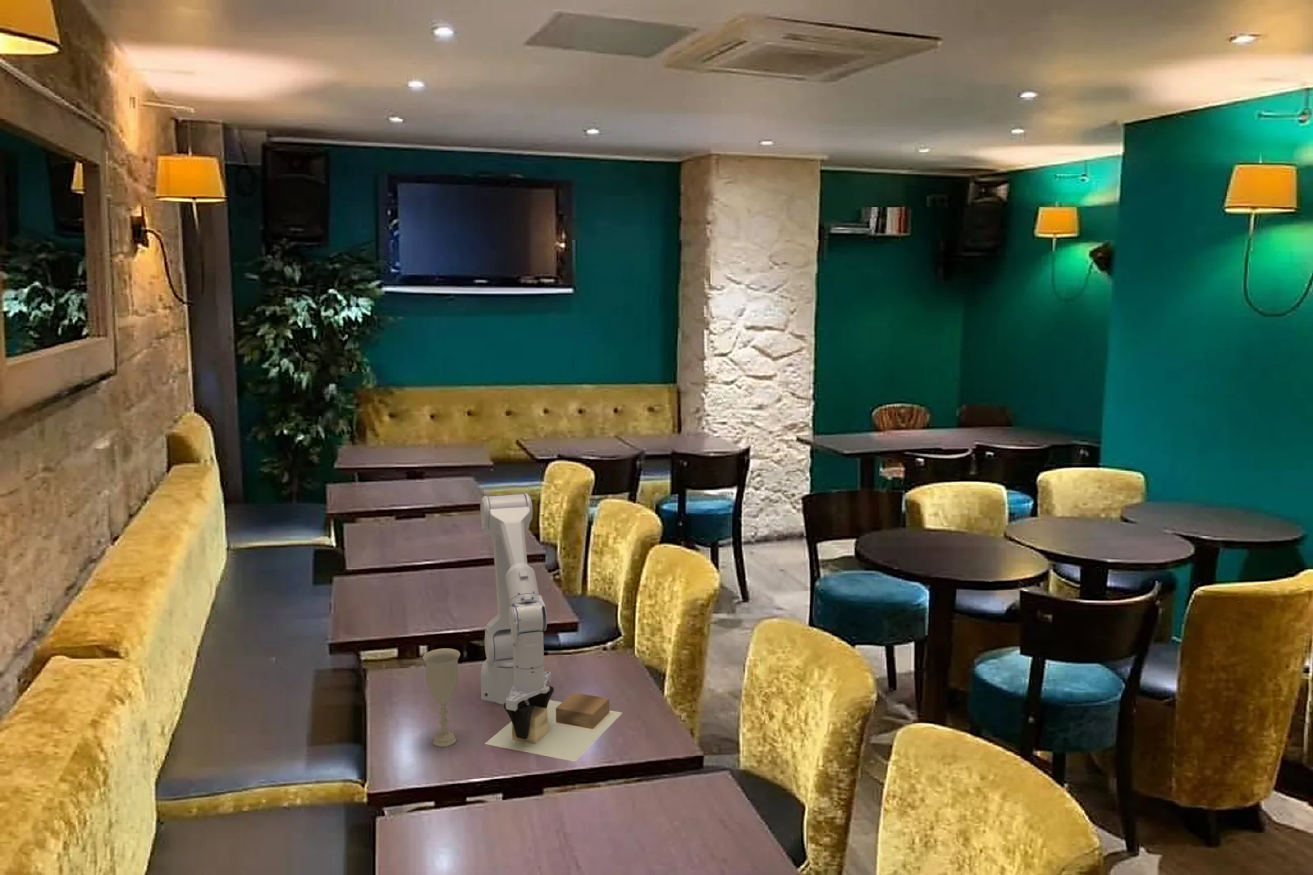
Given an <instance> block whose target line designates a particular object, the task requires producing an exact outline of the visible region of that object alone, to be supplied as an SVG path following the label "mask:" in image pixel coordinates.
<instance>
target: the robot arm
mask: <svg viewBox="0 0 1313 875" xmlns="http://www.w3.org/2000/svg"><path fill="white" fill-rule="evenodd" d="M479 508H480V521H481V522H480V523H481V524H480V525H481V530H482V534H483V535H485V536H488V537H490V538H491V541H492V544H493V561H494V562H493V563H494V574H495V575H494V576H495V594H496V609H497V613H496V615H495V616H494V617H493V618H492V619H491V620H489V621H488V622H487V623H486V625H485V628H484V633H485V634H484V651H485V657H486V659H485V660H484V662H483V663H482V666H481V669H480V698H481V700H482V701H486V702H487V701H488V702H493V703H496V704H498V705H502V706H503V708H504V710H505V712H506V713H507V715H508V717H509V718H510V720H511V721H512V723H513V726H514V730H515V733H516V737H517V738H522V739H527V738H528V734H529V725H530V718H531V714H532V711H533V709H534V707H535V706H537V707H542V708H547V705H548V702H549V700H551V698H552V696H553V694H554V692H555V691H554V690H555V687H553V686H551V685H547V684H549V683H551V682H552V672H551V671H546V670H545V663H544V662H545V660H544V658H545V657H544V656H545V655H544V653H545V650H544V632H545V631H546V630H547V628H548V627H547V625H548V615H547V609H546V605H545V601H544V600H543V597H542V595H540V594H539V593H540V592H539V588H538V582H537V576H536V571H535V569H534V568H533V567H531V566H530V565H529V564H528V558H527V557H528V555H527V546H526V543H527V542H526V534H525V532H526V531H527V530H528V529H529V528H530V523H531V521H532V520H533V512H534V510H533V502H532V498H531V496H530V495H529V494H528V493H527V492H524V493H520V494H505V495H492V496H490V495H488V496H487V495H484V496H482V498H481V499H480V507H479ZM526 701H527V702H528V703H527V702H526ZM511 721H510V722H511Z"/></svg>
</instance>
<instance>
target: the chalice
mask: <svg viewBox="0 0 1313 875" xmlns="http://www.w3.org/2000/svg"><path fill="white" fill-rule="evenodd" d="M460 656H461V653H460V651H459V650H457V649H454V648H447V647H446V648H437V649H432V650H430V651H428V652H426V653H424V655H422V660H423V662H424V663H425V675H426V677H425V679H426V685H427V688H428V689H429V693H430V694H431V696H432V698H433V699H434V701H435V702H436V703H437V704H439V705H440V711H439V715H440V716H441V717H440V721H439V722H438V723H439V724H440V726H441V730H440V731H438V733H436V734H435V736H434V739H433V741H432V743H433V745H434V746H435V747H439V748H446V747H450V746H452V745H454V744H455V743H456V742H457V739H456V737H455V735H454V733H452V731H449V730H448V728H447V726H448V723H449V722H450V721H449V720H448V718H447V714H448V713H449V712H448V710H447V703H449V702H451V700H452V698H453V695H454V693H455V691H456V688H457V685H458V681H459V663H458V662H459V658H460Z"/></svg>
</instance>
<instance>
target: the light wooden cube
mask: <svg viewBox="0 0 1313 875" xmlns="http://www.w3.org/2000/svg"><path fill="white" fill-rule="evenodd" d="M547 733H548V718H547V708H542V707H537V706H535V707H534V709H533V711H532V714H531V718H530V725H529V734H528V738H527V739H522V738H517V737H516V733H515V730H514V726H513V723H512V739H513V740H518V741H523V742H528V743H533V744H536V743H537V742H538V741H539V740H540V739H541V738H543V737H544V736H545V735H546V734H547Z"/></svg>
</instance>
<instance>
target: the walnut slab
mask: <svg viewBox="0 0 1313 875" xmlns="http://www.w3.org/2000/svg"><path fill="white" fill-rule="evenodd" d="M561 702H562V703H561V704H560V705H559V706H558V707H556V722H557V723H562V724H568V725H573V726H579V727H584V728H589V729H593V728H594V727H595V726H596V725H597V724H598V723H599V722H600V721H601V720H602V719H603V718H604V717H605V716H606V715H607V714H608V713H609V710H610V698H609V697H604V696H597V695H590V694H585V693H580V692H574V691H573V692H572V693H571V694H570V695H569V696H567V698H566V699H564V700H563V701H561Z"/></svg>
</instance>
